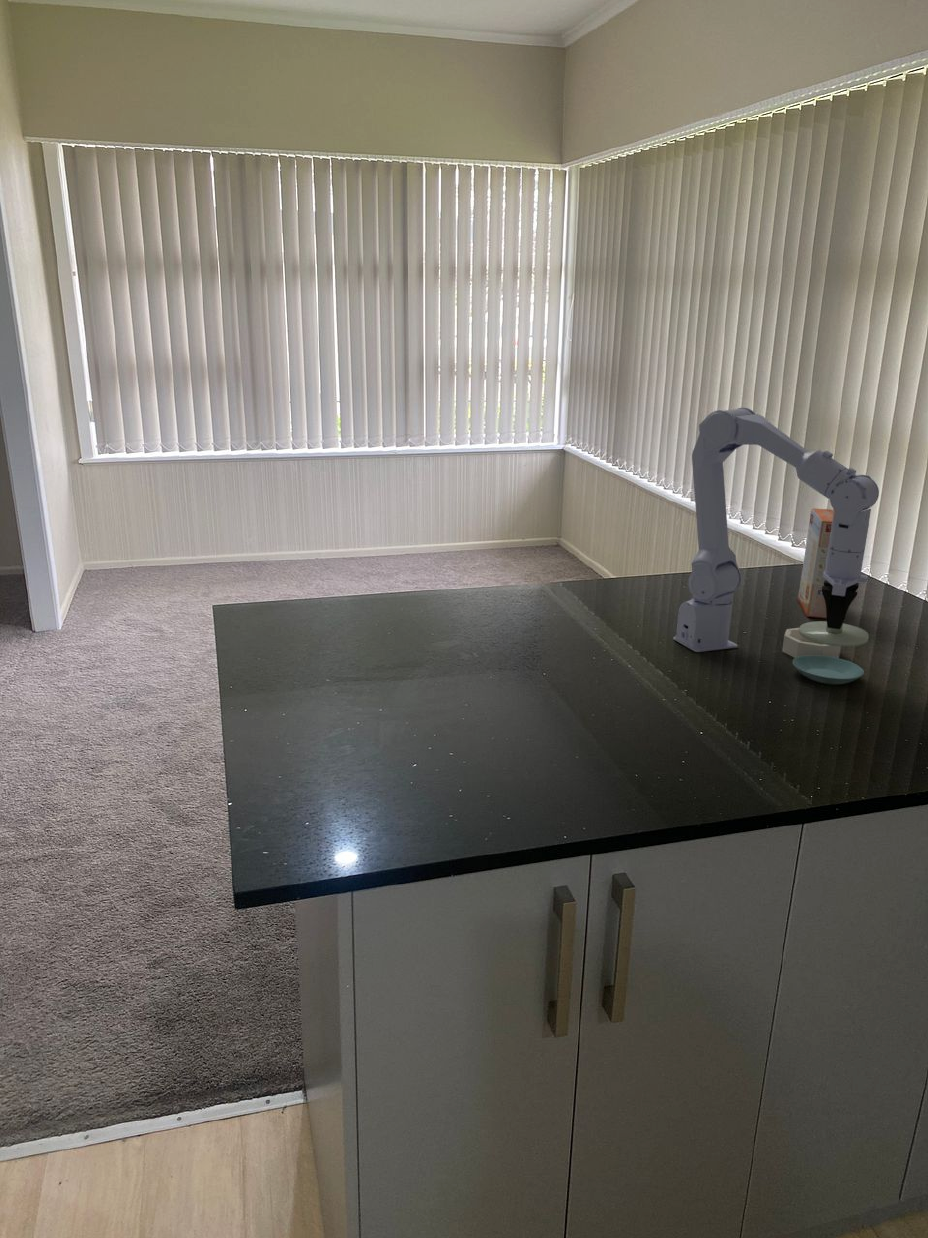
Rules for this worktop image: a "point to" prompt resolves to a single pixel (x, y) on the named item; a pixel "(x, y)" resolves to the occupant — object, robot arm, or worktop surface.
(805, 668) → the saucer
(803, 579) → the cracker box
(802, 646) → the bowl
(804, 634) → the lid
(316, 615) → the worktop surface
